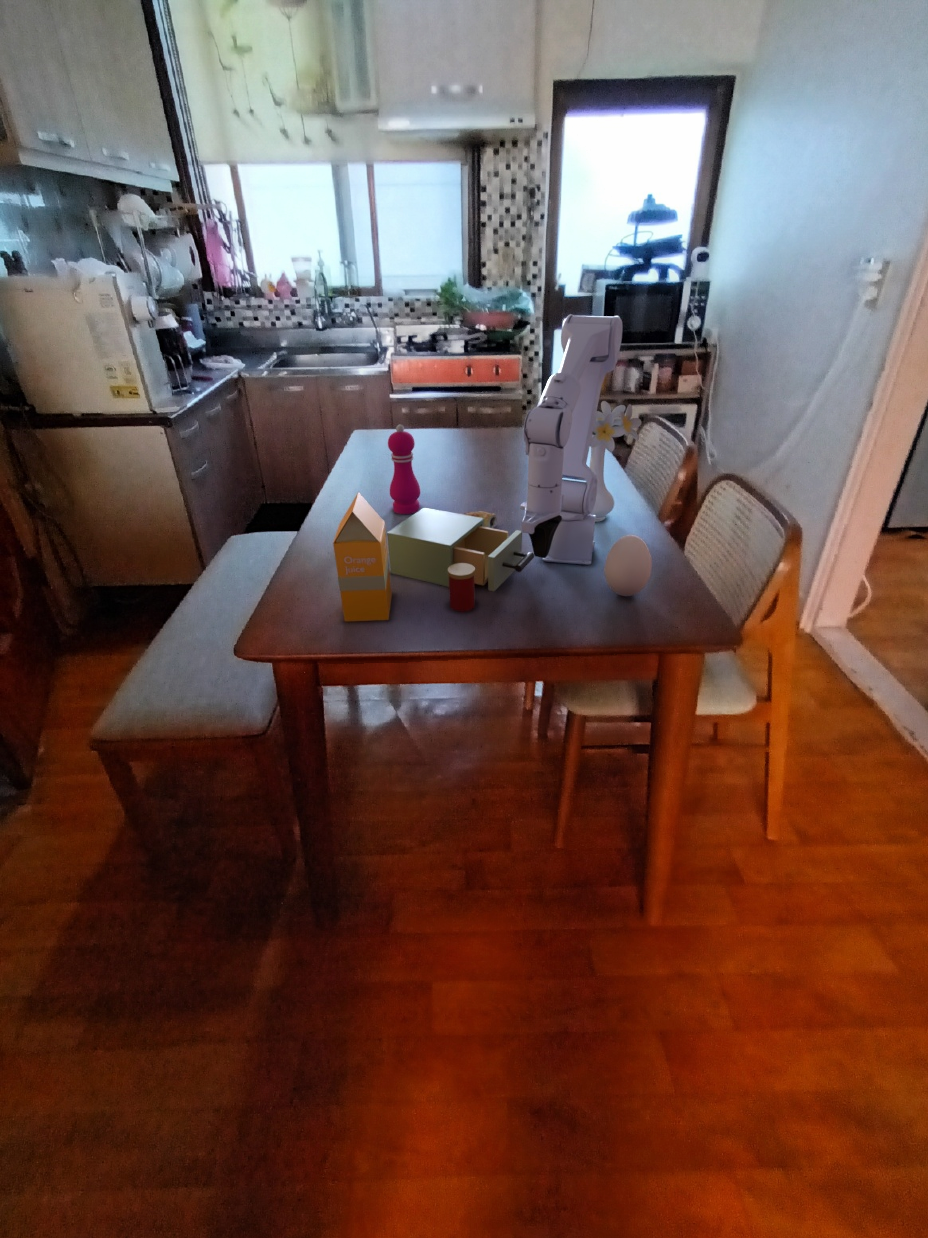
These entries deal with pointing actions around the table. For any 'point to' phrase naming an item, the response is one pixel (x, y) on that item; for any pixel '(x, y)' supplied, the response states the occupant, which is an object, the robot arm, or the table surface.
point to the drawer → (492, 555)
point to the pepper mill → (403, 473)
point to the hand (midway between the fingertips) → (541, 555)
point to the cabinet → (428, 544)
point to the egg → (628, 565)
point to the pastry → (485, 518)
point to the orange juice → (363, 563)
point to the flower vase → (603, 441)
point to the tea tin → (461, 586)
